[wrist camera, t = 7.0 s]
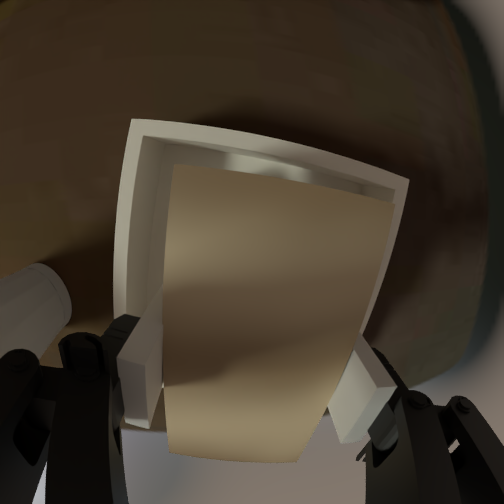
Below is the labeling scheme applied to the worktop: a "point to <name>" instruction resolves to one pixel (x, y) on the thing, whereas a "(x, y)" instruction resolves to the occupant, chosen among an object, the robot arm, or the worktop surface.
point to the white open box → (221, 157)
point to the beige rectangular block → (261, 308)
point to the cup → (32, 309)
